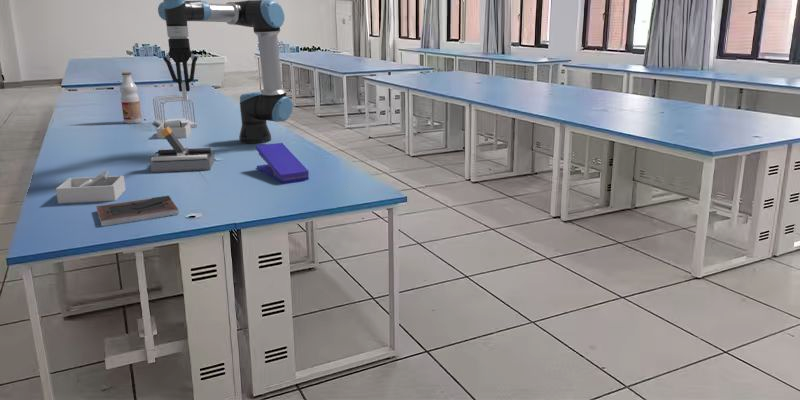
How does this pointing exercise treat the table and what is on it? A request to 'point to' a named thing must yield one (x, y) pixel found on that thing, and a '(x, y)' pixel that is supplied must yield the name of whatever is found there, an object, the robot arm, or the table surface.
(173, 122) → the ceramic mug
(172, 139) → the lever
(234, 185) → the table surface
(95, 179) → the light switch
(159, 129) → the mug tray
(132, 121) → the fruit juice
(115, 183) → the tray
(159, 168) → the breaker panel
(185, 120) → the file sorter
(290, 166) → the stapler
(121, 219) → the picture frame
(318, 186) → the table surface
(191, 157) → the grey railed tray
